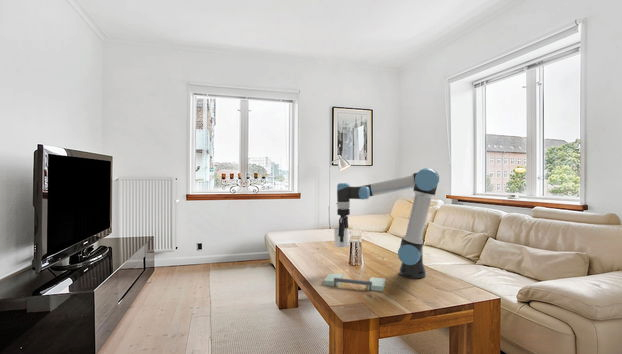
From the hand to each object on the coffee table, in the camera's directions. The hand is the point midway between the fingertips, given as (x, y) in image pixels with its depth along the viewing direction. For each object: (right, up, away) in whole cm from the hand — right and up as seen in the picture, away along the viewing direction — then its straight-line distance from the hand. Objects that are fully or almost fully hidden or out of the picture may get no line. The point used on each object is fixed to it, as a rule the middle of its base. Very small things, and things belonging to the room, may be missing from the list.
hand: (343, 245), depth 197 cm
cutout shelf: (+4, -17, -18) cm, 25 cm away
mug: (0, -1, +1) cm, 1 cm away
